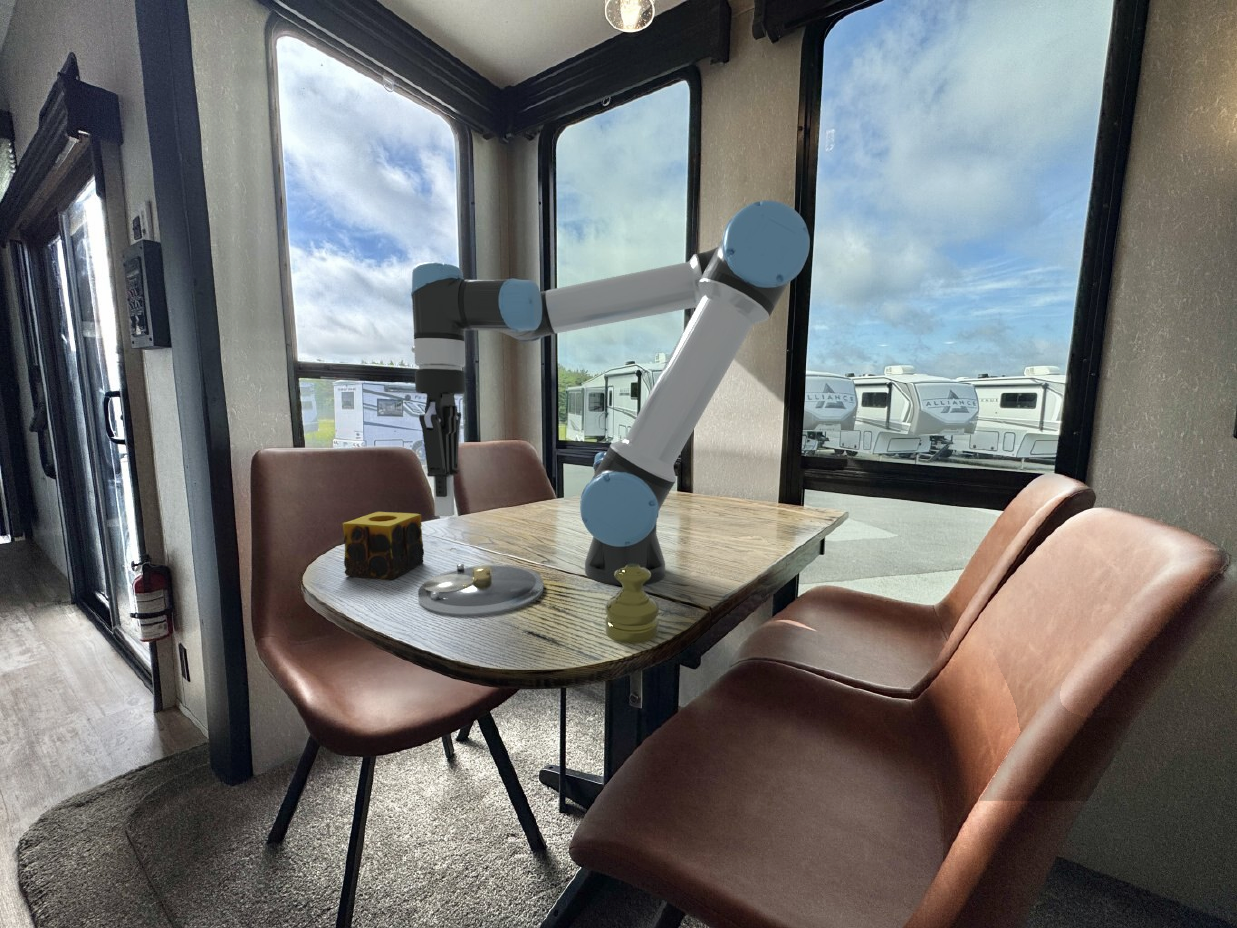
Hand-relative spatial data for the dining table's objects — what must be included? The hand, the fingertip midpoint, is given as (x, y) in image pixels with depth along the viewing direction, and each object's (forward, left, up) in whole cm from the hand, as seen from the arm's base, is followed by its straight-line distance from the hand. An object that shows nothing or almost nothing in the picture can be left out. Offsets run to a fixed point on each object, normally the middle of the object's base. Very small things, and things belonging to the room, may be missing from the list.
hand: (444, 514), depth 83 cm
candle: (+15, -11, -14) cm, 23 cm away
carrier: (-6, 0, -13) cm, 14 cm away
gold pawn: (-30, +15, -13) cm, 36 cm away
